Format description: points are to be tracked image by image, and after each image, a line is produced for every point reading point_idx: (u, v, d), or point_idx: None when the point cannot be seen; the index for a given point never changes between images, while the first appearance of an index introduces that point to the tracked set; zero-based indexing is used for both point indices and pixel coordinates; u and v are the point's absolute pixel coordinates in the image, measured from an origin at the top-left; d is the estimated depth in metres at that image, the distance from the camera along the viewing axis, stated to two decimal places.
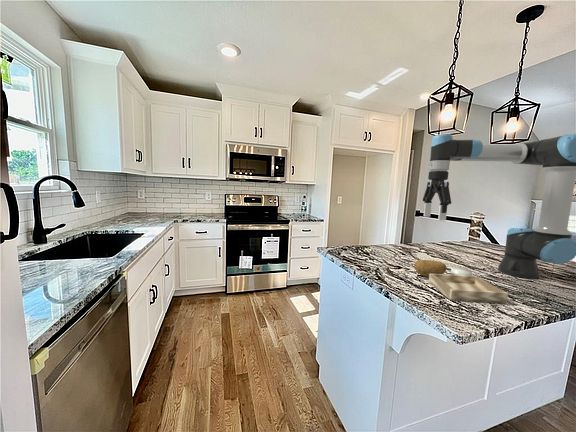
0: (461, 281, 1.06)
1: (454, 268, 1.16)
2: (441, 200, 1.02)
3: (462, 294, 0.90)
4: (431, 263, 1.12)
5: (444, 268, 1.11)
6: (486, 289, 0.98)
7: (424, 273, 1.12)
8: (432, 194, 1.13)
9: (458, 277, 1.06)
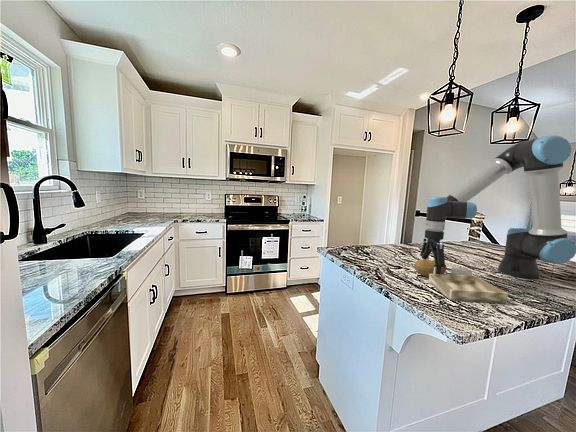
0: (461, 281, 1.06)
1: (454, 268, 1.16)
2: (436, 262, 1.07)
3: (462, 294, 0.90)
4: (431, 263, 1.12)
5: (444, 268, 1.11)
6: (486, 289, 0.98)
7: (424, 273, 1.12)
8: (429, 251, 1.17)
9: (458, 277, 1.06)
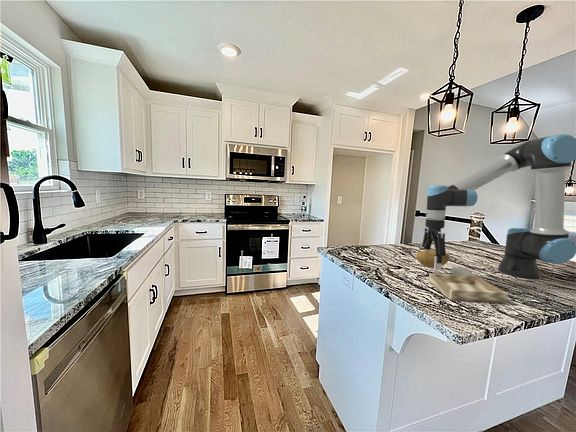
0: (461, 281, 1.06)
1: (454, 268, 1.16)
2: (436, 251, 1.08)
3: (462, 294, 0.90)
4: (433, 253, 1.11)
5: (447, 258, 1.11)
6: (486, 289, 0.98)
7: (427, 263, 1.11)
8: (430, 240, 1.16)
9: (458, 277, 1.06)
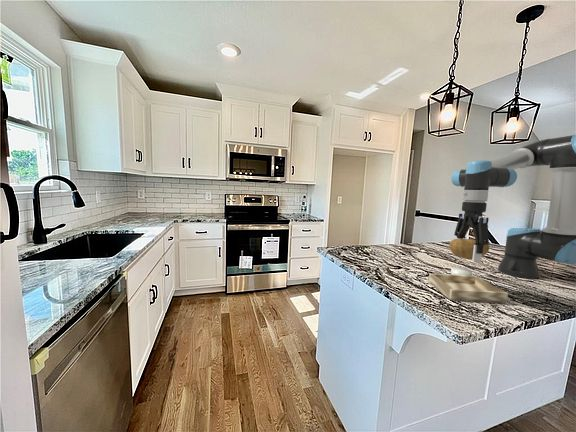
0: (461, 281, 1.06)
1: (454, 268, 1.16)
2: (477, 239, 0.90)
3: (462, 294, 0.90)
4: (471, 242, 0.94)
5: (487, 248, 0.93)
6: (486, 289, 0.98)
7: (463, 254, 0.94)
8: (466, 228, 0.99)
9: (458, 277, 1.06)
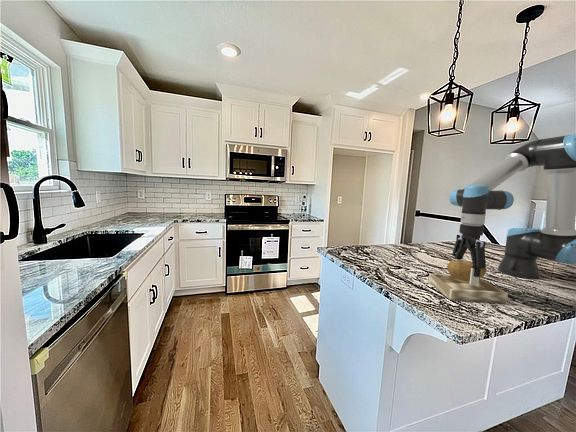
0: (461, 281, 1.06)
1: None
2: (474, 262, 0.91)
3: (462, 294, 0.90)
4: (469, 264, 0.95)
5: (484, 270, 0.94)
6: (486, 289, 0.98)
7: (460, 276, 0.95)
8: (464, 249, 1.00)
9: None
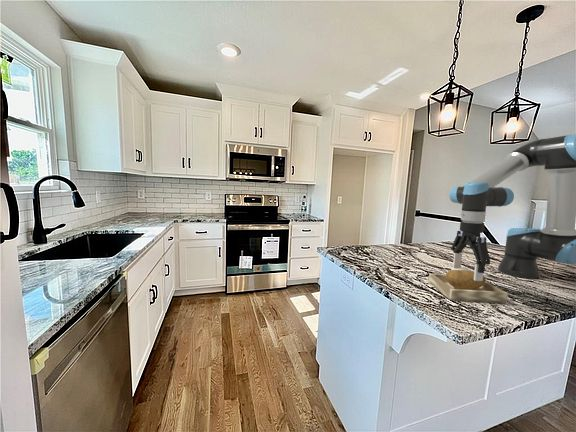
0: None
1: (454, 268, 1.16)
2: (477, 258, 0.90)
3: (462, 294, 0.90)
4: (467, 274, 0.95)
5: (483, 280, 0.95)
6: (486, 289, 0.98)
7: (459, 286, 0.96)
8: (463, 245, 1.00)
9: None
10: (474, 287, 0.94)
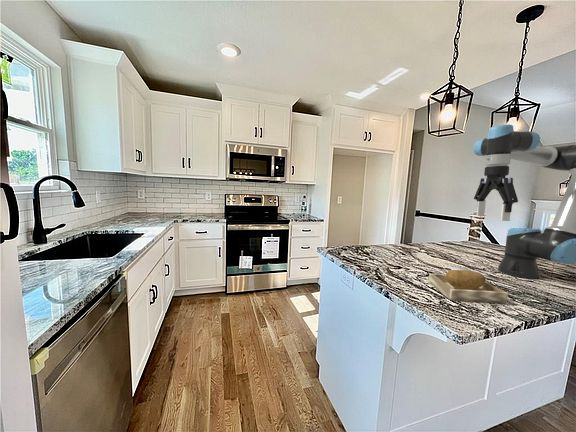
0: None
1: (454, 268, 1.16)
2: (504, 198, 0.92)
3: (462, 294, 0.90)
4: (467, 274, 0.95)
5: (483, 280, 0.95)
6: (486, 289, 0.98)
7: (459, 286, 0.96)
8: (487, 191, 1.03)
9: None
10: (474, 287, 0.94)
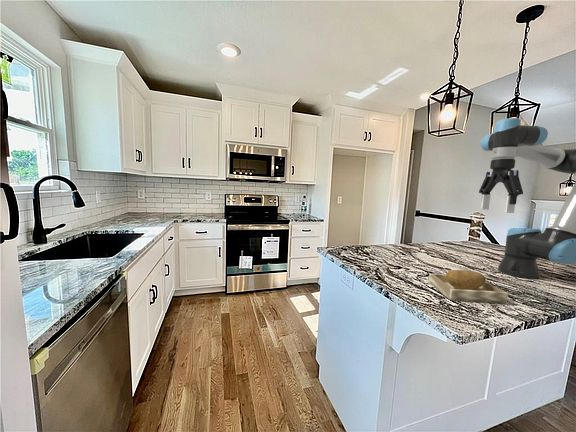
0: None
1: (454, 268, 1.16)
2: (509, 190, 0.93)
3: (462, 294, 0.90)
4: (467, 274, 0.95)
5: (483, 280, 0.95)
6: (486, 289, 0.98)
7: (459, 286, 0.96)
8: (493, 185, 1.04)
9: None
10: (474, 287, 0.94)
